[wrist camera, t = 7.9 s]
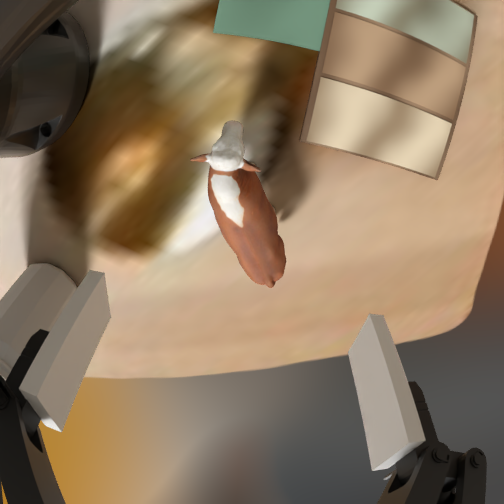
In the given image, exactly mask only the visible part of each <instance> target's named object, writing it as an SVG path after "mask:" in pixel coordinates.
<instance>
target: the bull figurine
mask: <svg viewBox="0 0 504 504" xmlns="http://www.w3.org/2000/svg"><path fill="white" fill-rule="evenodd" d="M242 135H243V126H242V124H241V123H240V122H237V121H228V122H226V123H225V124H224V127H223V130H222V136H221V137H220V139H218V140H217V142H216V143H215V144H214V145H213V148H212V152H211V153H210V154H203V155H200V156H198V157H195V158H192V159H190V160H191V161H199V162H209V163H210V169H209V176H208V196H209V200H210V203H211V206H212V208H213V210H214V214H215V218H216V221H217V223H218V225H219V228H220V230H221V232H222V234H223V237H224V238H225V240H226V241H227V243H228V244H229V245H230V247H231V248H232V249H233V251H234V252H235V253H236V255H237V258H238V260H239V263H240V264H241V266H242V268H243V269H244V271H245V272H246V274H247V275H248V276H249V277H250V278H251V279H252V280H253V281H254V282H255V283H257V284H260V285H264V284H266V285H267V286H268V287H269V288H272V287H273V286H274V285H275V282H276V281H277V280H279V279H280V278H281V277H282V276H283V274H284V269H285V264H286V257H285V251H284V243H283V240H282V238H281V237H280V236H279V235H278V231H277V230H278V224H277V217H276V214H275V208H274V207H273V206H271V204H270V202H269V201H268V199H267V197H266V194H265V192H264V190H263V188H262V185H261V183H260V180H259V178H258V176H257V174H256V171H257V172H261V169H260V168H258V167H257V166H256V164H255V163H253V162H248V161H247V160H245V159H244V158H243V156H244V153H245V149H244V143H243V140H242Z"/></svg>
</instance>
